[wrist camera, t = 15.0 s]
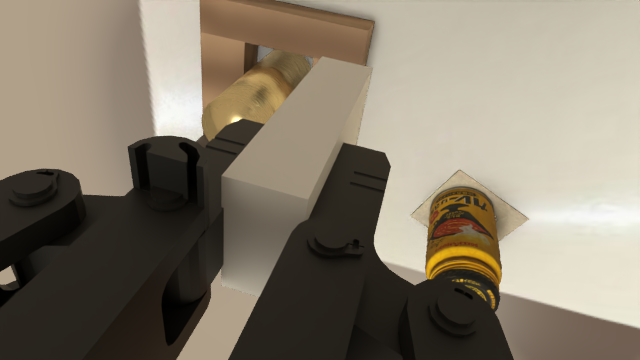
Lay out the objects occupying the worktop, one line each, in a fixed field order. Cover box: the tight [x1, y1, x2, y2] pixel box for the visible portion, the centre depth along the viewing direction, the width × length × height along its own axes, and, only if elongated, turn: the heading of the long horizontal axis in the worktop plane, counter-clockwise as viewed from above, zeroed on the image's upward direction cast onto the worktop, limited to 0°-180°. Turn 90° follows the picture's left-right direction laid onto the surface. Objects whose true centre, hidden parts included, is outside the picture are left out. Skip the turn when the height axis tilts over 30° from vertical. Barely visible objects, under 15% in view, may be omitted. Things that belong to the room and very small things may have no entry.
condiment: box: [411, 170, 529, 312], centre depth 38 cm, size 7×8×12 cm
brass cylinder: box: [202, 49, 311, 142], centre depth 34 cm, size 5×5×12 cm
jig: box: [196, 0, 375, 148], centre depth 38 cm, size 15×14×6 cm
